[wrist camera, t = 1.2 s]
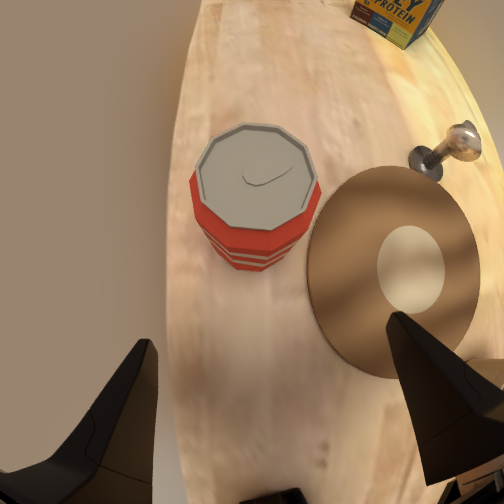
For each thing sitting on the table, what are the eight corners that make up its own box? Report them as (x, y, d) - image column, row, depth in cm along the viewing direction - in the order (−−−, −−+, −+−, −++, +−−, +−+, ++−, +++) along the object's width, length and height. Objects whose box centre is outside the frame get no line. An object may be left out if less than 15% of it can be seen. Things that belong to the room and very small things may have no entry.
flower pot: (482, 408, 20) (527, 424, 12) (430, 432, 20) (476, 461, 11) (492, 338, 22) (543, 342, 13) (442, 354, 21) (500, 367, 13)
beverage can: (303, 246, 23) (356, 195, 11) (237, 286, 22) (225, 273, 10) (265, 187, 24) (280, 97, 12) (200, 223, 23) (159, 154, 11)
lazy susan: (489, 317, 22) (494, 317, 21) (348, 413, 20) (352, 416, 19) (432, 154, 25) (436, 151, 24) (271, 202, 23) (272, 198, 22)
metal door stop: (411, 142, 25) (455, 96, 16) (440, 161, 25) (488, 123, 16) (405, 171, 24) (456, 127, 15) (436, 191, 24) (491, 156, 15)
